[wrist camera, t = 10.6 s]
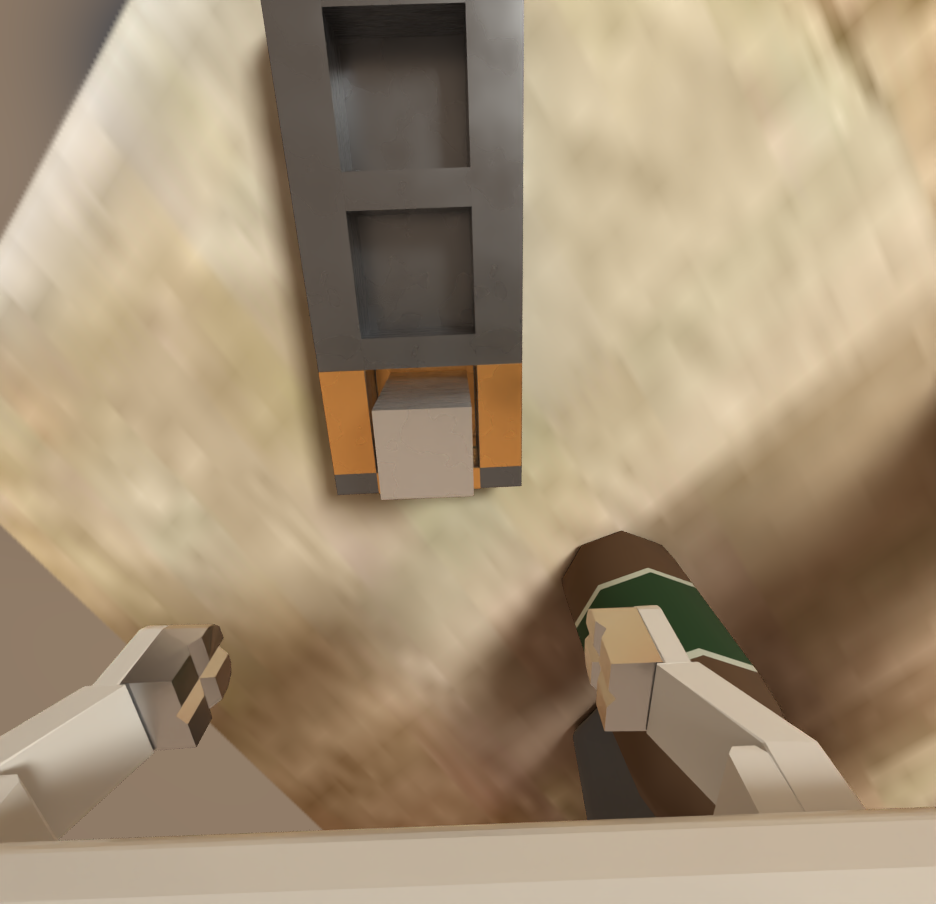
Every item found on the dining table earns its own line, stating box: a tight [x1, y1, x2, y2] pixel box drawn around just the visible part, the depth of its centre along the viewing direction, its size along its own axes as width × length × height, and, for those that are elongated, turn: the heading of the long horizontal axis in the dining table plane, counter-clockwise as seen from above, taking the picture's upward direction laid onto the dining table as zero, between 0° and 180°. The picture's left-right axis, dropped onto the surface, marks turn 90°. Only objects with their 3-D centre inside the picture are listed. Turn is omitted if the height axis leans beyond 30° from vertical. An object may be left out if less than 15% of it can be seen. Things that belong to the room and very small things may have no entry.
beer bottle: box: [562, 531, 784, 817], centre depth 22 cm, size 8×8×24 cm
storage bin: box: [573, 708, 656, 820], centre depth 33 cm, size 21×16×14 cm
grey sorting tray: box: [261, 0, 524, 495], centre depth 24 cm, size 10×22×4 cm, turn 2°
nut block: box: [372, 370, 474, 500], centre depth 24 cm, size 4×4×7 cm
